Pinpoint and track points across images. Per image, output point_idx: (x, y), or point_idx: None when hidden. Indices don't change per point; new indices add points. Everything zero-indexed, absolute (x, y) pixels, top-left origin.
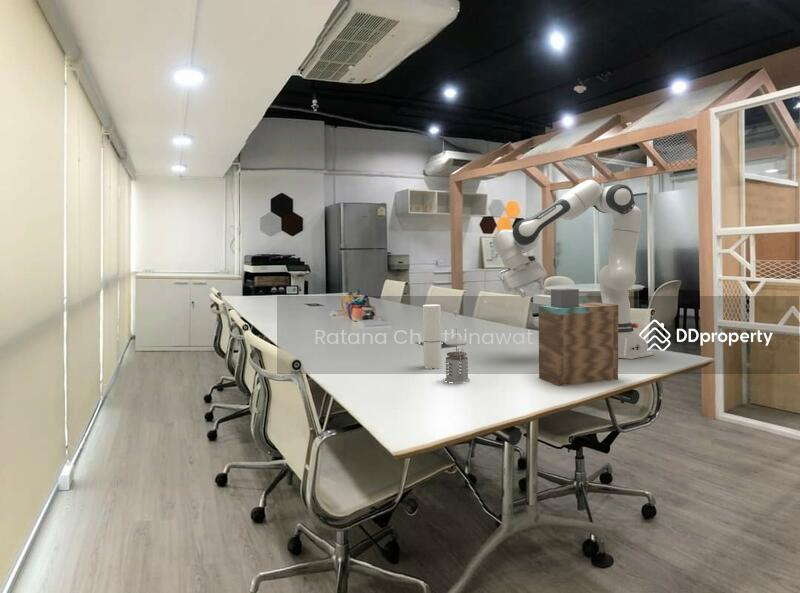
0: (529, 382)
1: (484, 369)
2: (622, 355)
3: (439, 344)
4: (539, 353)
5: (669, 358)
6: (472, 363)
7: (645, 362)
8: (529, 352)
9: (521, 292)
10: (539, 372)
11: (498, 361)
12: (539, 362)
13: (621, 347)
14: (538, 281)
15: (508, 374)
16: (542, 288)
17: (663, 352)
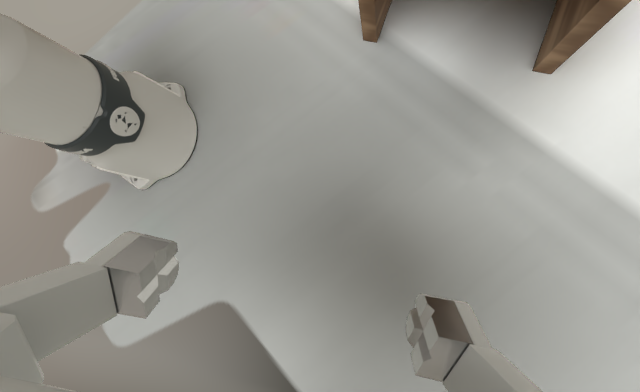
0: (621, 54)
1: (602, 273)
2: (181, 99)
3: None
4: (611, 15)
5: (129, 44)
6: (560, 375)
7: (193, 46)
8: (266, 333)
9: (505, 360)
10: (562, 61)
11: None
12: (585, 40)
13: (164, 92)
14: (12, 364)
15: (590, 165)
16: (155, 239)
17: None
